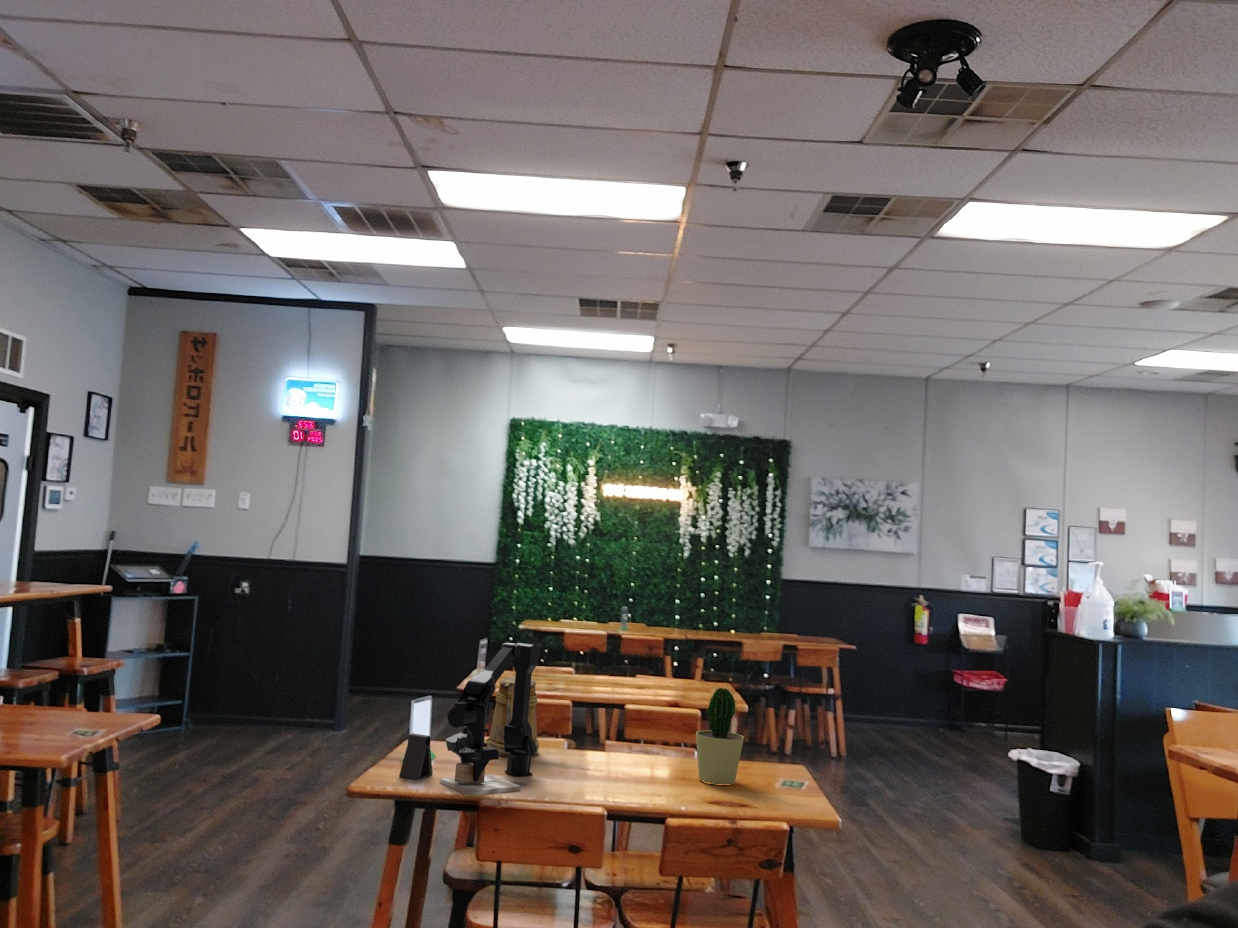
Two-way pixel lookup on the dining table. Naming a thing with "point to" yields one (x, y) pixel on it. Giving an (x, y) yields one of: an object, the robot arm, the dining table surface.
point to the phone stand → (417, 758)
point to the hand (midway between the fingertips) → (470, 779)
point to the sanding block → (467, 774)
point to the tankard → (510, 714)
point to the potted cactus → (719, 741)
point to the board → (482, 786)
